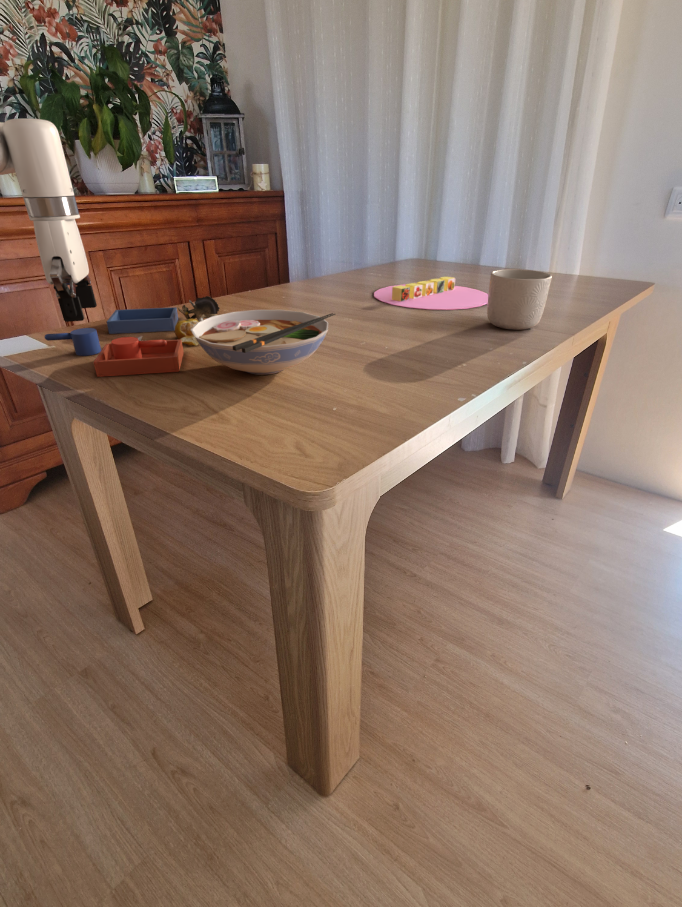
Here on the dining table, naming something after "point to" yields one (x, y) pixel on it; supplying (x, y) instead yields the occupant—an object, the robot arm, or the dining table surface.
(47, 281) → the robot arm
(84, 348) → the blue scoop
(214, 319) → the ramen bowl
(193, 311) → the brown figurine
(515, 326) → the planter
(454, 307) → the platter
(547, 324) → the dining table surface
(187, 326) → the fruit
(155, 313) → the blue tray
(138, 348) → the red scoop
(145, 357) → the red tray
